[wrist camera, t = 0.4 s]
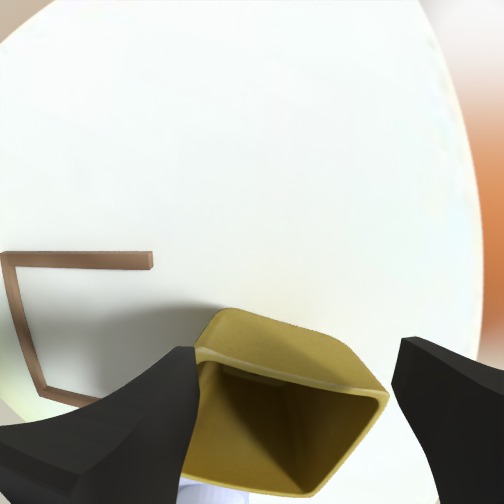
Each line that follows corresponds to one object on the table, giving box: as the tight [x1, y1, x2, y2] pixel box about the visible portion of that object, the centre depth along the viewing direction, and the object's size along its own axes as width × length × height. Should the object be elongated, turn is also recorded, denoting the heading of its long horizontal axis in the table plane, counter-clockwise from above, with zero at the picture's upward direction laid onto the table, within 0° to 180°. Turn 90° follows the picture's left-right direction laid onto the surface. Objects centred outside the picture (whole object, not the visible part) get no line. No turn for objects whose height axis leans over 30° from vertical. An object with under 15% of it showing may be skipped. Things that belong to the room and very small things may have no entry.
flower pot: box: [181, 308, 390, 498], centre depth 16 cm, size 9×9×9 cm
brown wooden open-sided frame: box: [0, 251, 153, 408], centre depth 20 cm, size 14×14×1 cm
